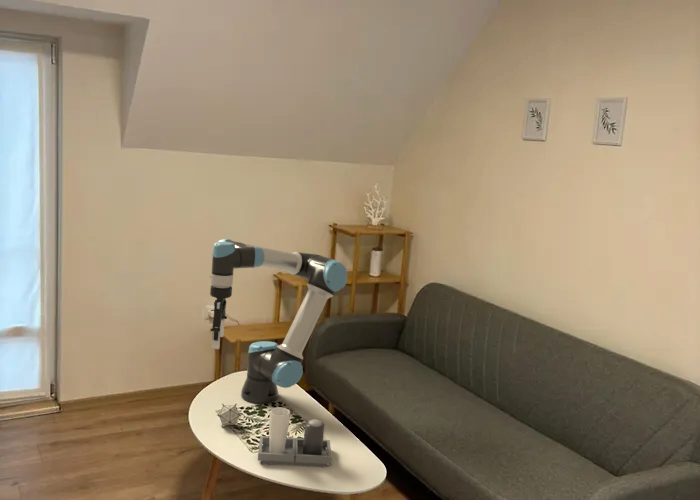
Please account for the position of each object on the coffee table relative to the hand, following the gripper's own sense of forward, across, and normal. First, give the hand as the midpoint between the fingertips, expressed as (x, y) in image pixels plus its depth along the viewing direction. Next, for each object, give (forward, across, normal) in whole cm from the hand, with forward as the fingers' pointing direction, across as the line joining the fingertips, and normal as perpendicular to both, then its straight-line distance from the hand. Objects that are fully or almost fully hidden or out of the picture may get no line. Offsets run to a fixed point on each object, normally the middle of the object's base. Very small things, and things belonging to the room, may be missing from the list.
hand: (217, 342), depth 235 cm
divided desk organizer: (+32, +20, +30) cm, 49 cm away
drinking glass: (+31, +20, +24) cm, 44 cm away
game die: (+32, 0, +6) cm, 32 cm away
